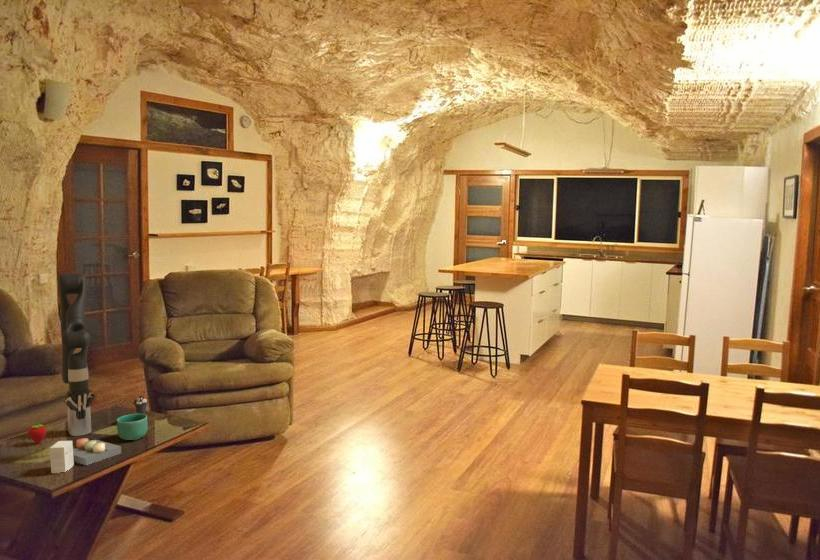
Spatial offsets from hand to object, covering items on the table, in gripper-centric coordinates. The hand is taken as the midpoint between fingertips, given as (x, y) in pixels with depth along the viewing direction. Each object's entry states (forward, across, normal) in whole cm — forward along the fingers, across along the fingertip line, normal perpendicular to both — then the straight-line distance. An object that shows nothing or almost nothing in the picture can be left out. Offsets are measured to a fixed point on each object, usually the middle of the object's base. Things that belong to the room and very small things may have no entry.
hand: (81, 418), depth 276 cm
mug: (+15, -24, +1) cm, 29 cm away
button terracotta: (+13, 0, 0) cm, 13 cm away
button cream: (+13, 0, +11) cm, 17 cm away
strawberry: (+15, +2, -29) cm, 33 cm away
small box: (+15, +15, +10) cm, 23 cm away
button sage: (+13, 0, +6) cm, 14 cm away
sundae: (+15, -40, -14) cm, 45 cm away
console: (+15, 0, +6) cm, 16 cm away
